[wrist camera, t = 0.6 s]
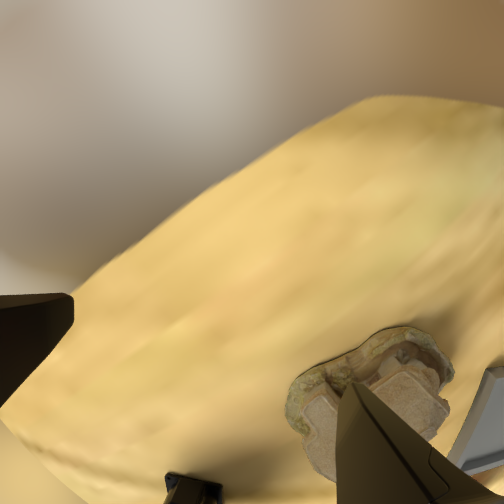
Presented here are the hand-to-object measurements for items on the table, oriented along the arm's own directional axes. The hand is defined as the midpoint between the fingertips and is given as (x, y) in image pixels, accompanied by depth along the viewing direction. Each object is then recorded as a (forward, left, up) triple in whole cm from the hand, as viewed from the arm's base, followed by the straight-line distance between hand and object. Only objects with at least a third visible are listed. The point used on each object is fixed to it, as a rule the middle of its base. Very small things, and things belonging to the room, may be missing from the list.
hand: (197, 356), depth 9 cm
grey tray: (-15, -30, -15) cm, 37 cm away
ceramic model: (-10, -10, -15) cm, 21 cm away
